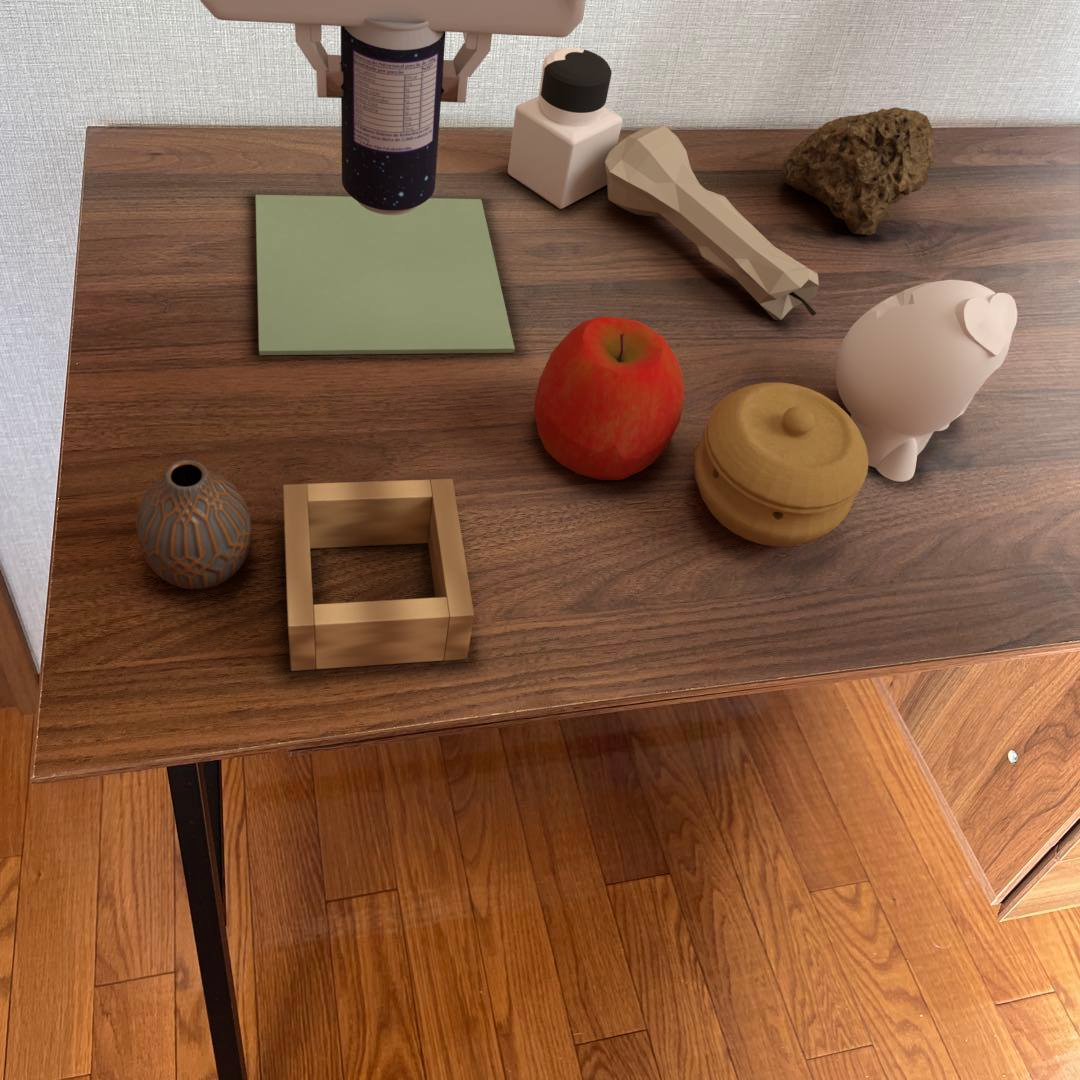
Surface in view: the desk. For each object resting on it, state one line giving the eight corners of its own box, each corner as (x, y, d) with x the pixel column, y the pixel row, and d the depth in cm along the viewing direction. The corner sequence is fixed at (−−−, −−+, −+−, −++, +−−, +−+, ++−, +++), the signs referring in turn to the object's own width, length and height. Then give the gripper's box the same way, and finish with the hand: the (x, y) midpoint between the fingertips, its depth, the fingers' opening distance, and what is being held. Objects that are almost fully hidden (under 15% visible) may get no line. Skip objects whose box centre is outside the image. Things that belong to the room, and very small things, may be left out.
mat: (259, 355, 85) (258, 350, 85) (255, 199, 97) (255, 194, 97) (514, 353, 89) (514, 348, 89) (480, 203, 101) (481, 198, 101)
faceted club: (648, 162, 108) (840, 316, 99) (582, 208, 105) (773, 369, 96) (653, 89, 100) (863, 249, 91) (582, 136, 97) (790, 305, 88)
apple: (673, 409, 88) (708, 304, 80) (660, 510, 81) (696, 406, 73) (541, 379, 88) (562, 271, 80) (516, 477, 81) (536, 370, 73)
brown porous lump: (778, 179, 112) (913, 93, 109) (843, 283, 109) (985, 198, 106) (763, 127, 102) (912, 30, 98) (836, 241, 98) (993, 144, 95)
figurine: (790, 428, 88) (857, 278, 77) (847, 358, 95) (918, 209, 83) (916, 499, 85) (1006, 354, 74) (966, 421, 92) (1057, 276, 80)
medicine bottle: (610, 185, 106) (635, 66, 97) (560, 211, 102) (582, 90, 93) (555, 149, 108) (575, 30, 99) (505, 174, 105) (521, 52, 95)
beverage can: (452, 194, 70) (468, 5, 60) (396, 235, 66) (404, 41, 57) (380, 157, 71) (385, -34, 62) (322, 195, 68) (318, 0, 58)
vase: (255, 603, 71) (246, 516, 64) (142, 609, 70) (121, 521, 63) (254, 520, 75) (246, 430, 68) (147, 524, 74) (128, 433, 67)
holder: (290, 671, 68) (288, 626, 64) (285, 532, 75) (282, 484, 71) (466, 659, 71) (474, 615, 67) (446, 525, 77) (452, 478, 73)
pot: (675, 549, 79) (711, 454, 71) (688, 435, 86) (723, 337, 78) (835, 585, 79) (889, 494, 71) (835, 467, 86) (884, 373, 79)
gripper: (169, -166, 49) (202, 119, 59) (617, -129, 53) (572, 132, 64) (175, -221, 52) (205, 57, 63) (593, -182, 57) (554, 73, 67)
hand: (392, 95), depth 63 cm, fingers closed on beverage can, 5 cm apart
